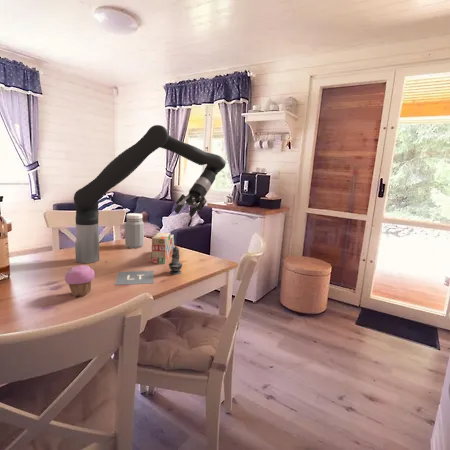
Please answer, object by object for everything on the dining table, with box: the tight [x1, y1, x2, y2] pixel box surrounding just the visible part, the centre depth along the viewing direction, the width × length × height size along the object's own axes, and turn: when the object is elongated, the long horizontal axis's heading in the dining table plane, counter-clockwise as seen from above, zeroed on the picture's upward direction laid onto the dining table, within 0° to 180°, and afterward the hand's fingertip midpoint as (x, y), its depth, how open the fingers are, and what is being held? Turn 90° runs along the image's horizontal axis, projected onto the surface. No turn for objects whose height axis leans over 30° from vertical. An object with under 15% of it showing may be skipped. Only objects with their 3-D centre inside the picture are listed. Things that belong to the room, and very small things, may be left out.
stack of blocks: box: [151, 231, 175, 265], centre depth 143 cm, size 21×6×12 cm, turn 179°
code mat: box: [114, 270, 155, 286], centre depth 115 cm, size 14×14×1 cm
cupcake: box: [64, 264, 96, 297], centre depth 97 cm, size 9×9×10 cm
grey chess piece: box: [168, 245, 183, 276], centre depth 122 cm, size 6×6×12 cm
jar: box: [124, 212, 145, 249], centre depth 159 cm, size 10×10×18 cm
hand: (183, 214), depth 130 cm, fingers open, 8 cm apart
